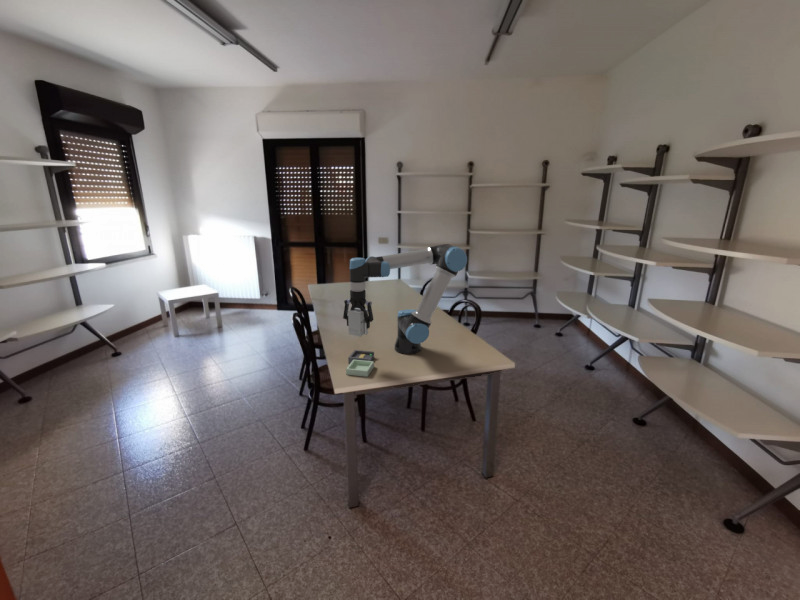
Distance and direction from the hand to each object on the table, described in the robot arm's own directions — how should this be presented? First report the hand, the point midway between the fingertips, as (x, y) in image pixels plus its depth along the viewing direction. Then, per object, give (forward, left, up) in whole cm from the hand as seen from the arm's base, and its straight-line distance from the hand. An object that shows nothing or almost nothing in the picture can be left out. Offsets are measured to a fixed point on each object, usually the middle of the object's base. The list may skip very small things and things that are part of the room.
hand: (358, 333), depth 185 cm
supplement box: (0, 0, 0) cm, 0 cm away
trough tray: (-2, +6, -18) cm, 19 cm away
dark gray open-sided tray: (+1, -5, -18) cm, 19 cm away
